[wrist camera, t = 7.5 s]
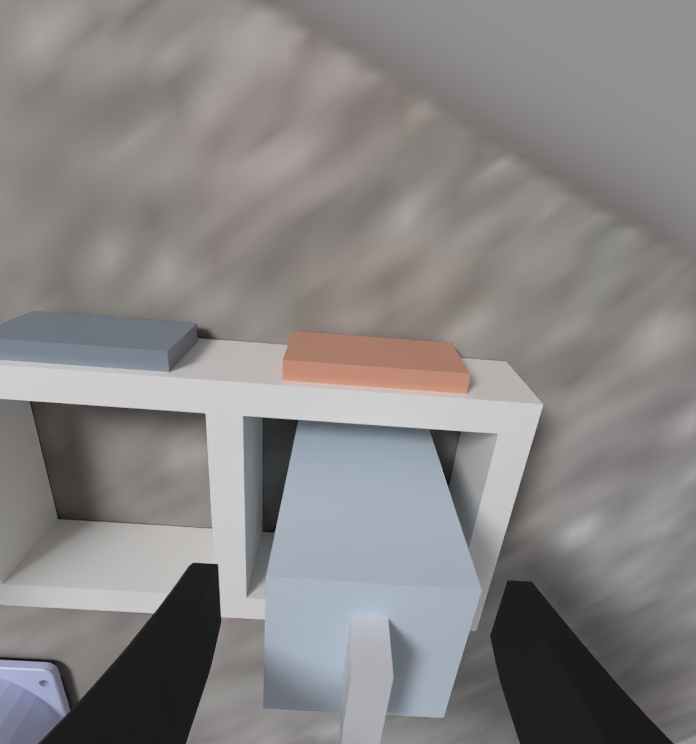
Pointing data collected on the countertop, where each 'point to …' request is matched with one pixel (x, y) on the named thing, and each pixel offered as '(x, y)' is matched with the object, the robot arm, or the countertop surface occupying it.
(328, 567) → the plug
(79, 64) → the countertop surface
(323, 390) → the white divided frame
